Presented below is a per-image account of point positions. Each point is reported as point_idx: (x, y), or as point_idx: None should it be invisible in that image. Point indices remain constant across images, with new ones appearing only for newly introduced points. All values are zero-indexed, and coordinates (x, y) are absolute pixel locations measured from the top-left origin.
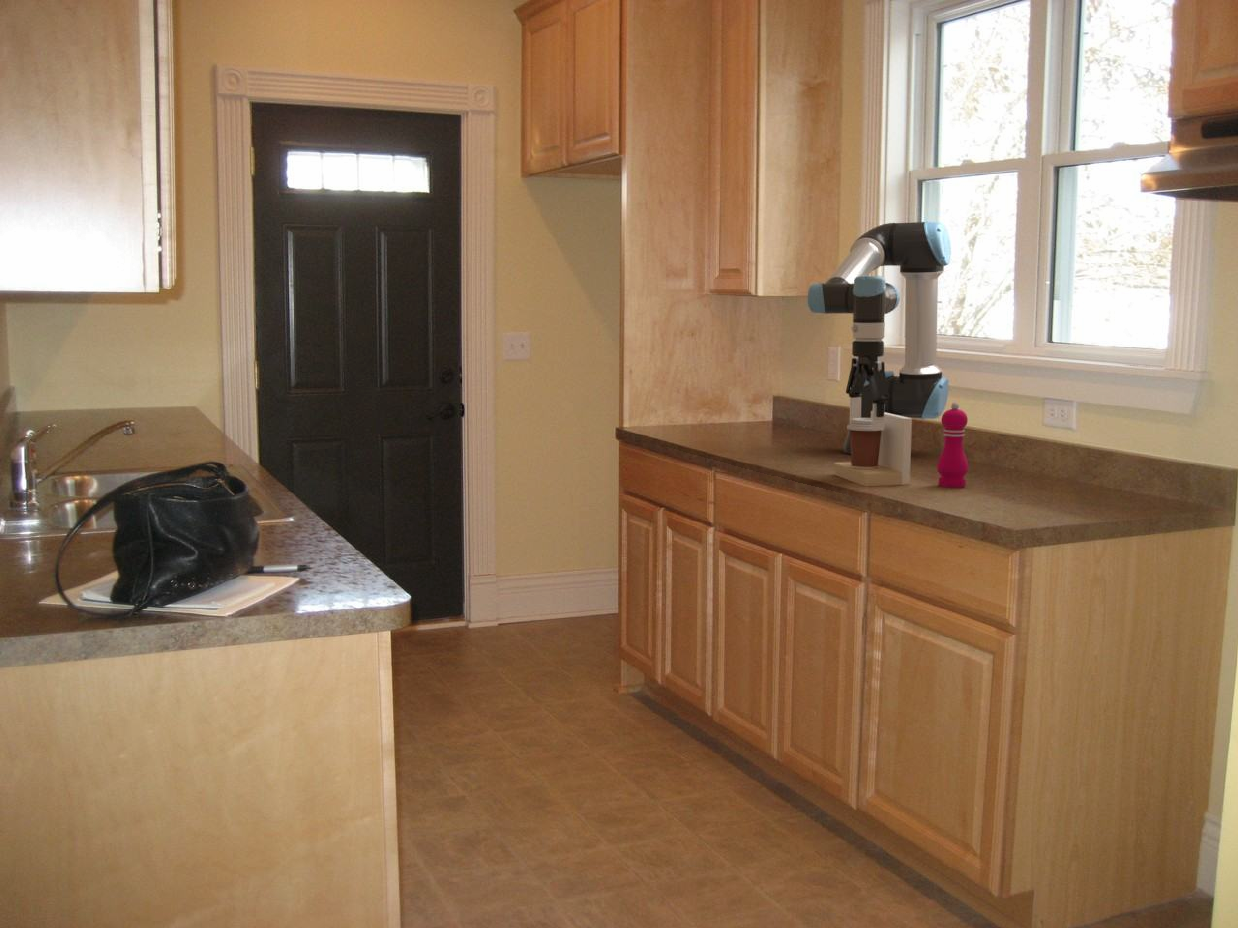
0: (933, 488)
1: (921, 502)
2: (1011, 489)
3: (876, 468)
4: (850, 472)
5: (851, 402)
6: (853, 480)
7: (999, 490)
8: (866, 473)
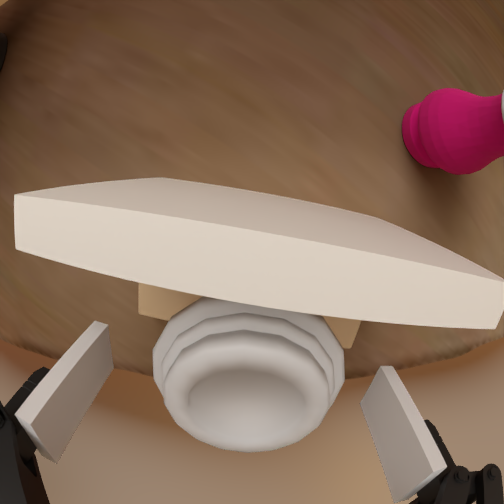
0: (437, 203)
1: None
2: (481, 76)
3: None
4: None
5: (67, 443)
6: None
7: None
8: (347, 344)
